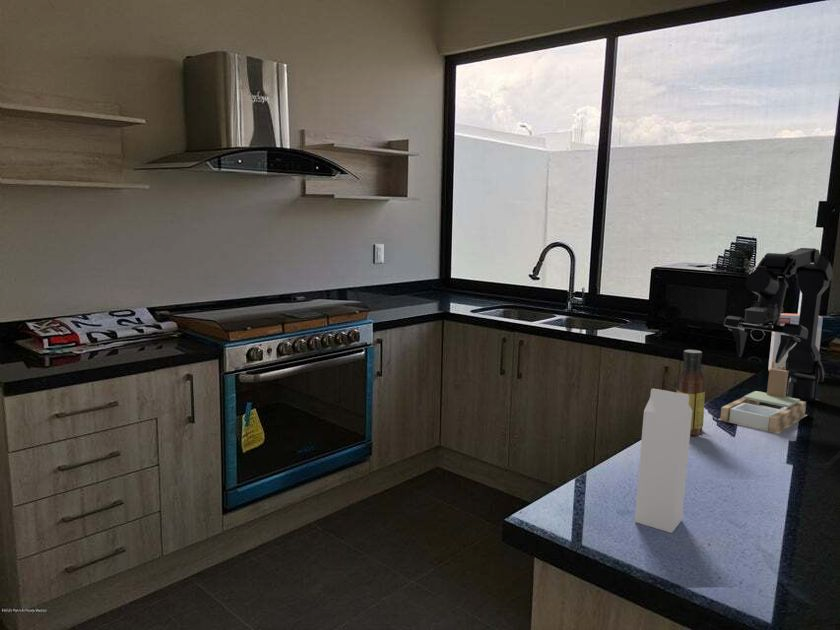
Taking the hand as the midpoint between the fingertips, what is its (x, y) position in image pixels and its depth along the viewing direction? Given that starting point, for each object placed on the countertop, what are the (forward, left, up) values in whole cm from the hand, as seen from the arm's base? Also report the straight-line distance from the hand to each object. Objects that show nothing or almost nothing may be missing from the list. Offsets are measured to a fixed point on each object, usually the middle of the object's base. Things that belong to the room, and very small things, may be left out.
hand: (757, 359), depth 164 cm
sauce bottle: (+22, +14, -16) cm, 31 cm away
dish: (+2, +6, -15) cm, 16 cm away
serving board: (-2, +2, -15) cm, 16 cm away
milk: (+46, +62, -16) cm, 79 cm away
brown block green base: (-6, -2, -11) cm, 12 cm away
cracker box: (-42, -56, -16) cm, 71 cm away
